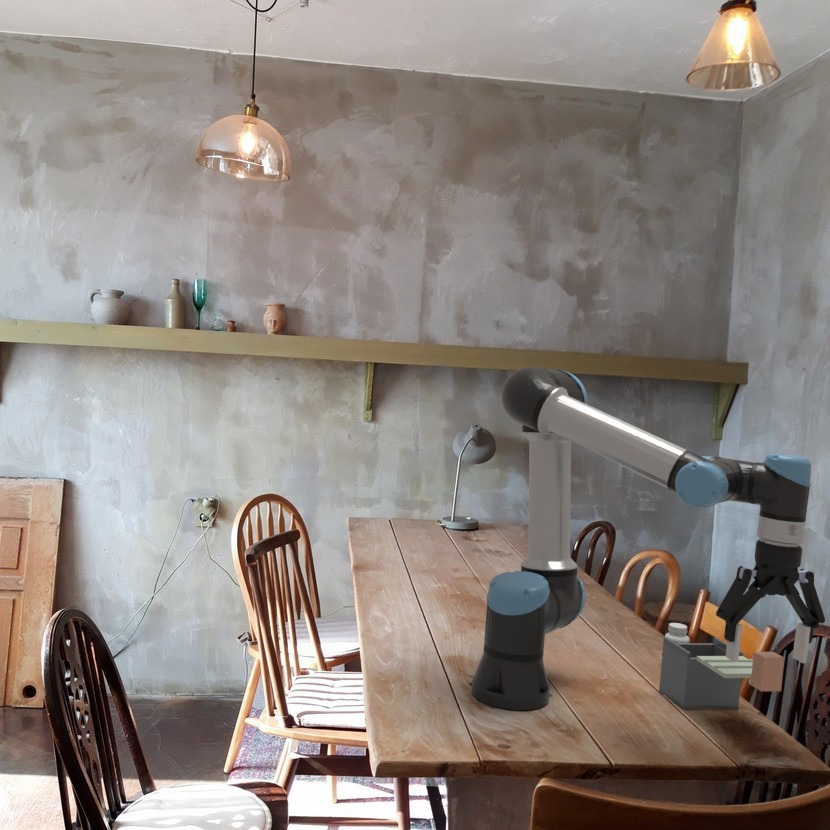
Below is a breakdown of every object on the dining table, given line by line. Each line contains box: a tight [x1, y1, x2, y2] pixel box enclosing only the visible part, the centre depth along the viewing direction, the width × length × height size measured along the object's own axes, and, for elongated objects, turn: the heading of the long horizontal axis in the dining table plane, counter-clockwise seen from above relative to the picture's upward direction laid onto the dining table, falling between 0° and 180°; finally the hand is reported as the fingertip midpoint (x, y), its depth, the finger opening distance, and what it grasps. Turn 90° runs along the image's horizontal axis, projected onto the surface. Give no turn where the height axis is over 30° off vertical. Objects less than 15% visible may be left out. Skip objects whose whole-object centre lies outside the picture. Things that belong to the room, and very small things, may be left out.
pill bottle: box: [664, 622, 691, 643], centre depth 186 cm, size 5×5×10 cm
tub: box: [658, 636, 744, 710], centre depth 167 cm, size 12×10×11 cm
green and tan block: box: [696, 651, 785, 692], centre depth 153 cm, size 10×16×6 cm, turn 12°
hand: (765, 660), depth 147 cm, fingers open, 13 cm apart
